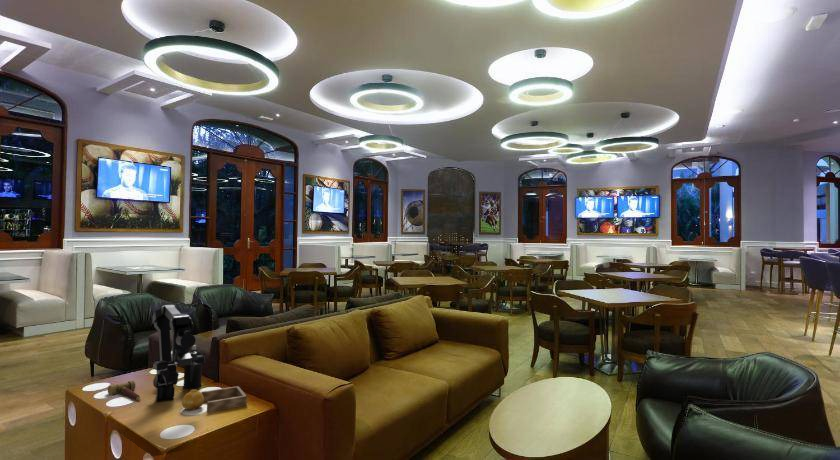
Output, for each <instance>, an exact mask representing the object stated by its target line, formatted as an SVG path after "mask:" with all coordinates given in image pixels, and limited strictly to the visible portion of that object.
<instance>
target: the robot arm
mask: <svg viewBox="0 0 840 460" xmlns="http://www.w3.org/2000/svg"><path fill="white" fill-rule="evenodd" d="M152 323H153V325H154V326H153V327H154V328H155V330H156V331H157V332H158V347H159V361H154V363H153V365H152V369H153V370H154V371H156V374H155V376H154V378H153V380H152V381H153V383H152V385H153V386H154V388H155V389H156V396H155V400H156V402H157V403H158V402H159V403H161V402H166V401H171V400H174V397H175V389H176V388H175V385H177V384H178V381H179V375H180V373H179V372H178V370H177V367H176V365H177V366H179V367H184V365H190V381H192V380H193V377H194V375H195V372H196V370H197V368H198V367H199V366H201V365H202V366H203V364H204V363H206V358H205V356H204V355H202V356H201V355H197V352H191V353H189V351H190V350H189V349H190V348H192V346H193V345H196V341H197V340H196V337H195V335H193V334H191V332H194V330H195V326H194V323H193V320H192V317H190V315H189V314H186V313H181V312H180V311H179V310H178V309H177V307H176V305H175V304H164V305H161V307H160V308H159V309H157V310H155V311H154V312H153V315H152ZM171 333H172V340H171ZM171 341H172V342H171ZM171 351H172V357H171ZM175 362H176V363H175ZM201 363H202V364H201Z"/></svg>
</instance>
